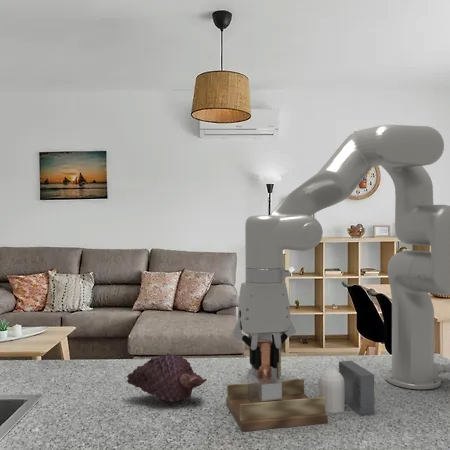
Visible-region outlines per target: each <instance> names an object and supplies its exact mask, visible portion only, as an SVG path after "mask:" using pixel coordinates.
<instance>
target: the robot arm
mask: <svg viewBox="0 0 450 450" xmlns="http://www.w3.org/2000/svg"><path fill="white" fill-rule="evenodd" d="M444 142H445V141H444V138H443V136H442V134H441V133H440V132H439V131H438V130H437V129H436V128H434V127H431V126H428V125H407V124H406V125H405V124H383V125H377V126H373V127H368V128H363V129H360V130H359V129H358V130H356V131H355V132H353V133H350V135H348V136H347V137H346V138H345V140H343V142H341V144H340V145H339V146H338V148H337V149H336V150H335V152H334V153H333V154H332V156H331V157H330V158H329V159H328V160H327V161H326V163H324V165H323V166H322V167H321V168H320V170H318V172H317V173H315V174H314V175H313V176H311V177H310V178H308V179H307V180H305V181H304V182H303V183H302V184H300V185H299V186H298V187H296V188H295V189H294V190H292V191H290V193H288V194H287V195H286V196H284V198H283V199H282V200H281V201H280V202H279V203H278V204H277V206H276V207H275V208H274V209H273V211H271V213H270V214H269V215H266V214H265V215H251V216H248V217H247V219H246V220H245V225H244V226H245V228H244V229H245V237H244V239H245V240H244V241H245V282H241V285H240V290H239V296H238V307H237V308H238V310H237V322H236V325H234V328H233V330H232V331H231V334H232V336H233V337H234V338H236V339H238V340H240V341H243V342H244V343H245V345H247V347H248V348H249V364H250V365H251V367H252V366H253V367H254V369H255V370H258V369H259V350H258V349H257V339H258V334H270V333H271V341H272V367H273V368H277V363H279V348H281V349H282V345H283V344H284V343H285V342H286V341H287V339H288V338H291V337H292V336H293V335H295V334H296V333H297V330H296V328H295V325H293V322H292V320H291V310H290V300H289V299H290V298H289V293H288V287H287V283H286V282H284V281H285V278H286V277H287V278H288V277H290V276H291V275H290V270H289V269H285V268H284V263H283V262H284V250H291V251H298V252H306V251H309V250H312V249H314V248H315V247H317V246H318V245H319V244H320V243H321V241H322V238H323V233H324V232H323V227H322V224H321V223H320V221H319V220H317V219H316V218H315V217H313V215H315V214H316V213H318V212H320V211H322V210H324V209H327V208H330V207H333V206H334V205H337V204H339V203H341V202H343V201H344V200H347V199H348V198H349V197H350V196H351V195H352V194H353V192H354V191H355V189H356V188H357V187H358V186H359V185H360V183H361V182H362V181H363V179H364V178H365V177H366V175H368V173H369V172H370V170H372V169H373V168H374V167H378V166H379V167H382V169H384V170H385V171H386V172H387V174H388V175H389V176H390V178H391V180H392V182H393V185H394V186H393V187H394V195H395V198H394V199H395V201H394V202H395V203H394V204H395V207H394V230H395V236H396V238H397V239H398V240H399V242H401V243H403V244H408V245H412V246H413V245H414V246H427V247H430V251H425V250H413V249H409V250H402V251H401V250H400V251H398V252H396V253H395V254H393V255H392V256H391V258H390V259H389V261H388V264H387V277H388V282H389V286H390V287H389V288H390V293H391V294H390V295H391V369H390V370H387V371H386V372H385V374H384V377H385V378H384V379H385V380H386V382H388V383H389V384H391V385H394V386H396V387H400V388H404V389H410V390H411V389H412V390H433V389H437V388H439V387H440V386H441V385H442V379H441V378H440V376H439V375H441V374H442V373H443V374H446V373H448V374H449V373H450V364H440V363H439V362H435V309H434V303H433V301H432V299H431V297H430V295H429V294H434V295H439V296H449V295H450V205H447V204H435V203H434V189H433V188H434V187H433V181H432V179H431V175H430V174H429V173H428V171H427V169H425V168H424V166H429V165H433V164H435V163H436V162H438V161H439V159H440V158H441V157H442V155H443V153H444V150H445V143H444ZM246 334H247V335H246Z"/></svg>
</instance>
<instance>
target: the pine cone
mask: <svg viewBox="0 0 450 450" xmlns="http://www.w3.org/2000/svg"><path fill="white" fill-rule="evenodd" d="M126 378H127V380H126V382H127V384H129V385H133V386H135V388H139V389H141V391H142V392H144V393H145V392H146V393H147V394H148V395H152V396H156V399H157V400H162V401H165V402H167V403H168V402H171V403H173V402H174V403H175V402H177V401H181V400H183V399H187V398H191V396H192V393H193V389H194V388H198V387H200V386H202V384H204V383H205V382H207V380H208V378H203V377H202V376H201V375H199V374H197V372H194V370H193V367H192V366H191V363H190V361H188V359H187V358H184V357H183V355H177V354H175V353H173V354H170V353H166V354H165V355H157V356H156V357H151V358H150V359H149V360H147V361H146V362H145V363H144V364H142V365H139V366H137V367H136V369H134V370H133V371H132V372H130V373H128V374H127V376H126Z"/></svg>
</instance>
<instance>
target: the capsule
mask: <svg viewBox="0 0 450 450" xmlns="http://www.w3.org/2000/svg"><path fill="white" fill-rule="evenodd" d="M318 397H325V413H331V414H338V413H342V412H344V411H345V406H346V405H345V404H346V403H345V382H344V378H343V376H342V375H341V374H340V373H339V370H336V369H333V368H332V369H329V368H328V369H326V370H324V371H322V373H321V374H320V376H319V379H318Z"/></svg>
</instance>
